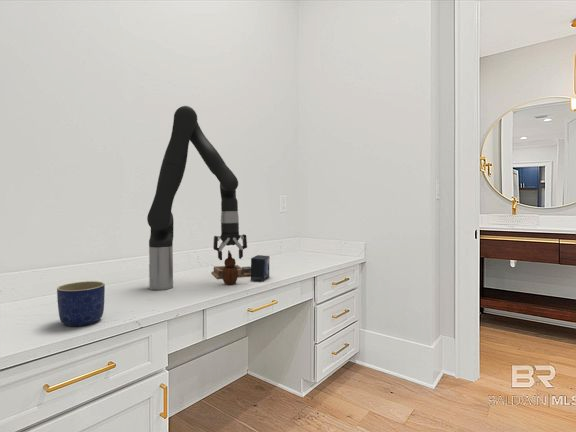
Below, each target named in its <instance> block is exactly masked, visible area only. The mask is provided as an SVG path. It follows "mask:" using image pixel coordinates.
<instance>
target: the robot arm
mask: <svg viewBox="0 0 576 432" xmlns="http://www.w3.org/2000/svg"><path fill="white" fill-rule="evenodd" d="M190 143H192V145H193V147H194V148H195V149H196V151H197V153H198V155H200V158H202V160H203V162H204V164H205V165H206V167H207V168H208V169H209V171H210V172H211V174H212V175H214V176H215V178H216V179H217V180H218V182H219V191H220V199H221V201H220V202H221V204H220V206H221V208H220V211H221V212H220V214H221V215H220V231H221V233H220V236H219V235H214V236H213V250H214V251H217V258H218V260H219V261H222V260H223V251H222V250H223V249H224V248H225V247H226V246H236V247H237V248H238V259H240V260H242V259H243V257H244V250H245V249H247V248H248V242H247V235H246V234H244V233H243V234H240V227H239V226H240V223H239V209H238V207H239V206H238V204H239V203H238V199H237V193H236V192H237V191H236V190H237V188H238V186H239V181H238V178H237V176H236V175H235V174H234V172H233V171H232V170H231V169H230V168H229V166H227V164H226V162H225V160H224V159H223V158H222V156H221V154H220V153H219V152H218V150H217V149H216V148H215V146H214V145H213V144H212V143H211V142H210V141H209V139H208V138H207V136H206V135H205V133H204V132H203V130H202V129H201V127H200V124H199V122H198V115H197V113H196V110H195V109H193V107H191V106H189V105H182V106H179V107H178V108H177V109H176V110H175V111H174V114H173V123H172V129H171V135H170V138H169V142H168V144H167V147H166V148H165V153H164V155H163V159H162V161H161V165H160V169H159V175H158V179H157V184H156V190H155V194H154V198H153V200H152V204H151V206H150V208H149V212H148V213H147V216H146V219H147V220H146V221H147V224H148V226H149V227H150V235H149V240H148V255H149V256H148V260H149V261H148V263H149V264H148V272H149V273H148V279H149V280H148V283H149V290H155V291H163V290H168V289H173V287H174V254H173V253H174V249H173V248H174V247H173V242H174V215H173V212H172V208H173V203H174V201H175V196H176V195H177V192H178V190H179V188H180V185H181V183H182V181H183V178H184V174H185V171H186V166H187V162H188V153H189V144H190ZM240 239H241V240H242V244H241V243H240V242H239V240H240ZM220 240H221V241H222V242H221V243H220V245H218V242H219V241H220Z"/></svg>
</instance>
